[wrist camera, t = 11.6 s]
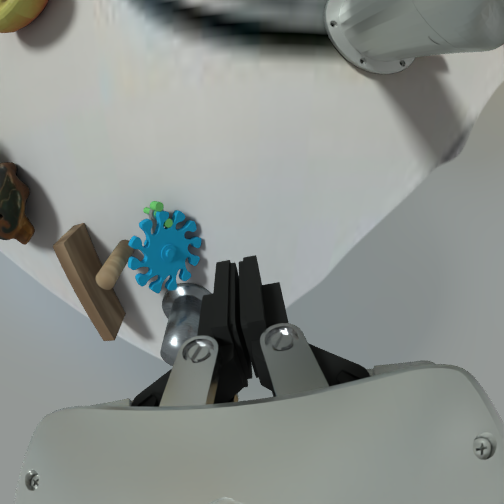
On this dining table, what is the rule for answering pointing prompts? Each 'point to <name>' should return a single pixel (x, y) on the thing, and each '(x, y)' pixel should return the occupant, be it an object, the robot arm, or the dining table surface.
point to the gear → (164, 248)
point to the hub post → (181, 317)
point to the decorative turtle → (13, 206)
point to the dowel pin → (114, 265)
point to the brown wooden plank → (89, 281)
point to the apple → (19, 13)
